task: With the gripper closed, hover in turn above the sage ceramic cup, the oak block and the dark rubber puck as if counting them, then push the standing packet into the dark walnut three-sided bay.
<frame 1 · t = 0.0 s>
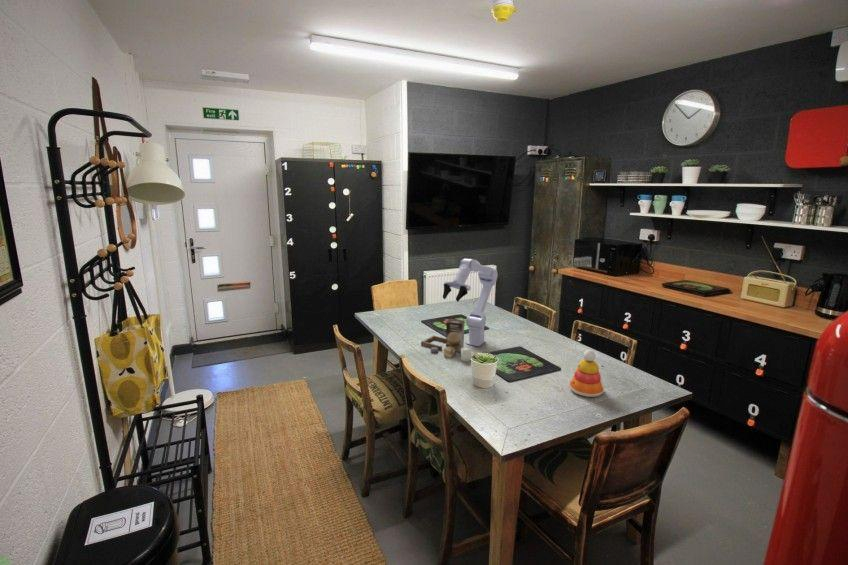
hand: (450, 299, 205), 32 cm above the table, tool tilted 50°, fingers open, 7 cm apart
rubber puck: (434, 351, 222), on the table
stacking toy: (585, 391, 180), on the table
walnut bay: (437, 344, 232), on the table
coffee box: (454, 349, 226), on the table
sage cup: (465, 359, 212), on the table
oak block: (449, 355, 218), on the table
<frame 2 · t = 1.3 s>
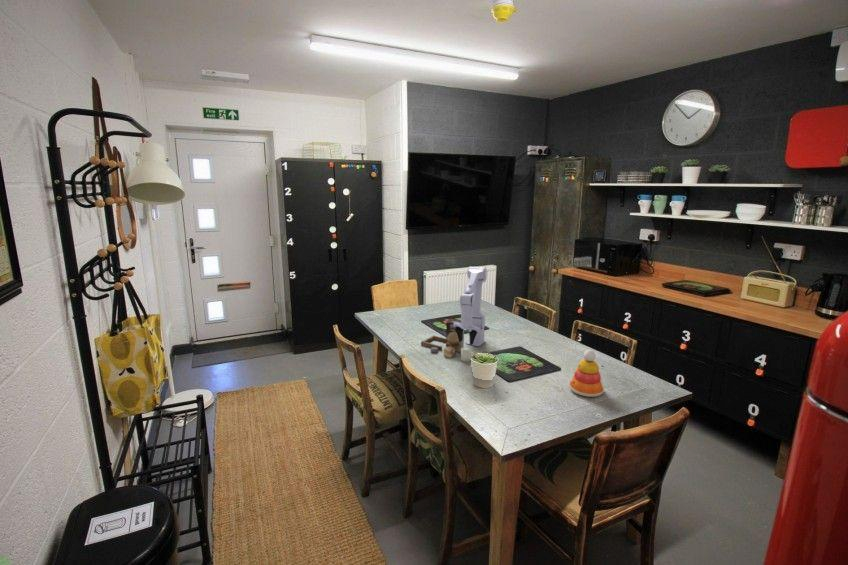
hand: (466, 342, 210), 9 cm above the table, tool pointing down, fingers open, 6 cm apart
nothing on the table moved.
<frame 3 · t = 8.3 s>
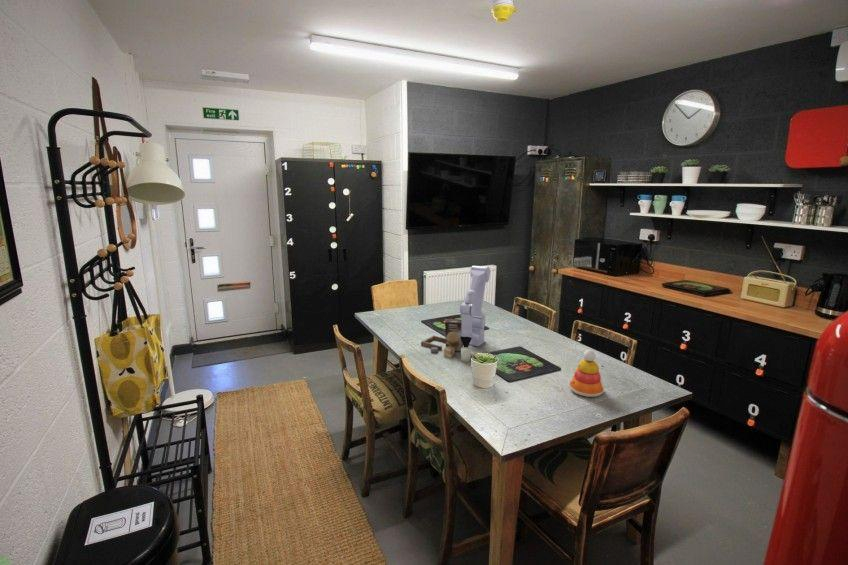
hand: (466, 349, 221), 1 cm above the table, tool pointing down, fingers closed
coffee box: (454, 349, 226), on the table, touching arm, gripper
everything else where it was.
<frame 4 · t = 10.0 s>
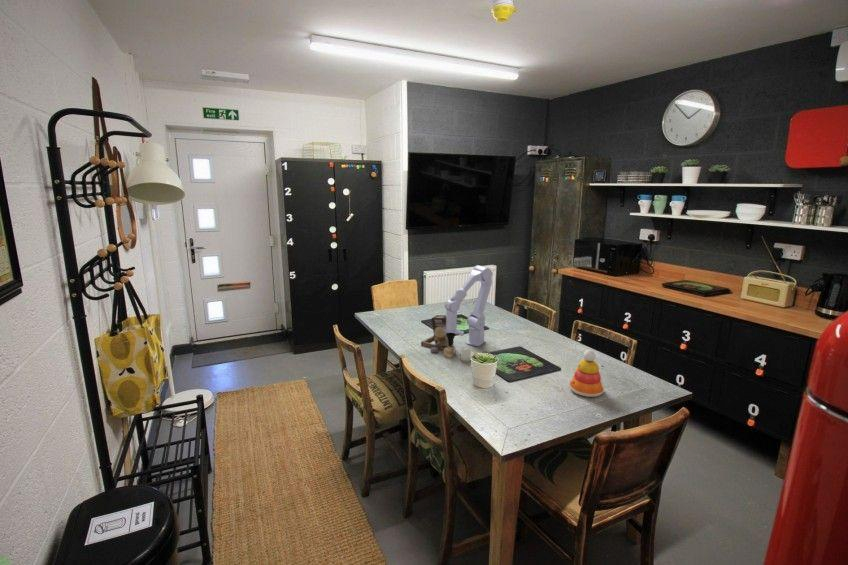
hand: (450, 345, 226), 2 cm above the table, tool pointing down, fingers closed, pressing on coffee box
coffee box: (444, 344, 231), on the table, touching arm, gripper
everything else where it was.
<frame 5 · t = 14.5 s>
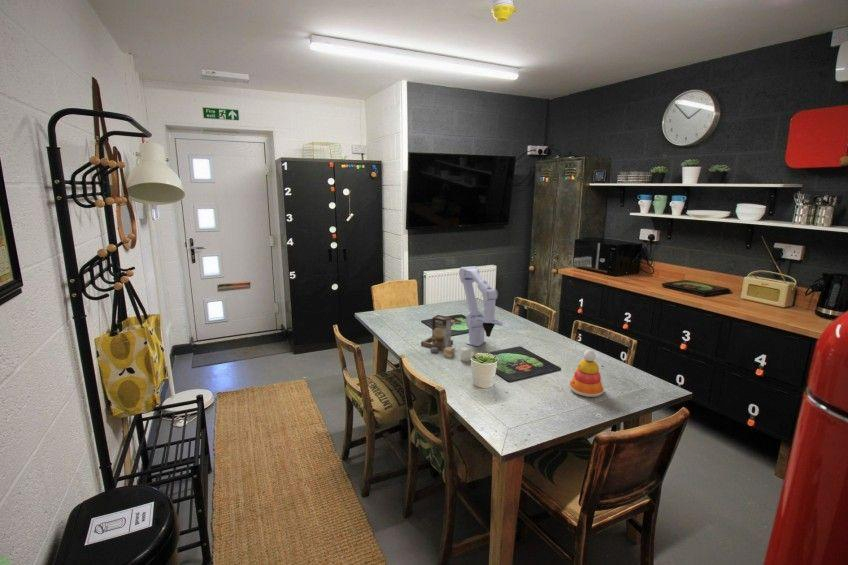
hand: (488, 336, 219), 9 cm above the table, tool pointing down, fingers closed
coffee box: (441, 344, 232), on the table
everything else where it was.
at the end: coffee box inside the target area (1.3 cm from its centre), on the table; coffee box tilted 0°; the gripper is holding nothing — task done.
